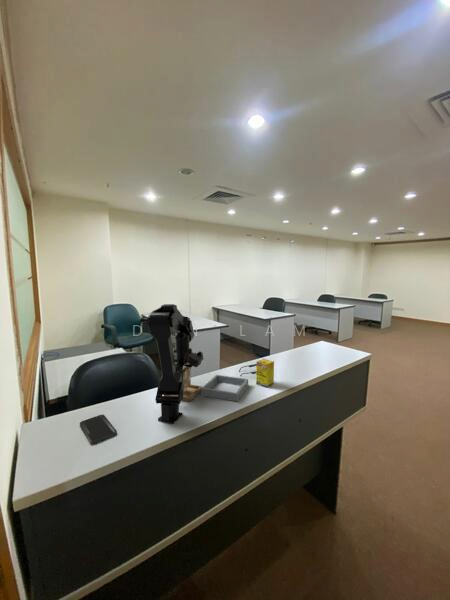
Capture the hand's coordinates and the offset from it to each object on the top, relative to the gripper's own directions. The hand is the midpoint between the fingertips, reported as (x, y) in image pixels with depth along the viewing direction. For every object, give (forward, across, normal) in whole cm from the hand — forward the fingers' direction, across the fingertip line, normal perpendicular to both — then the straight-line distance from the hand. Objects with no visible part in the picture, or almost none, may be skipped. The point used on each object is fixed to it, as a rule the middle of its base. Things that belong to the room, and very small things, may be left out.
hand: (183, 382), depth 106 cm
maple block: (+2, 0, 0) cm, 2 cm away
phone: (+6, -32, +14) cm, 35 cm away
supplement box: (+5, +21, -31) cm, 38 cm away
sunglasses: (+5, +31, -21) cm, 38 cm away
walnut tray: (+5, 0, 0) cm, 5 cm away
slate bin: (+5, +9, -16) cm, 19 cm away
